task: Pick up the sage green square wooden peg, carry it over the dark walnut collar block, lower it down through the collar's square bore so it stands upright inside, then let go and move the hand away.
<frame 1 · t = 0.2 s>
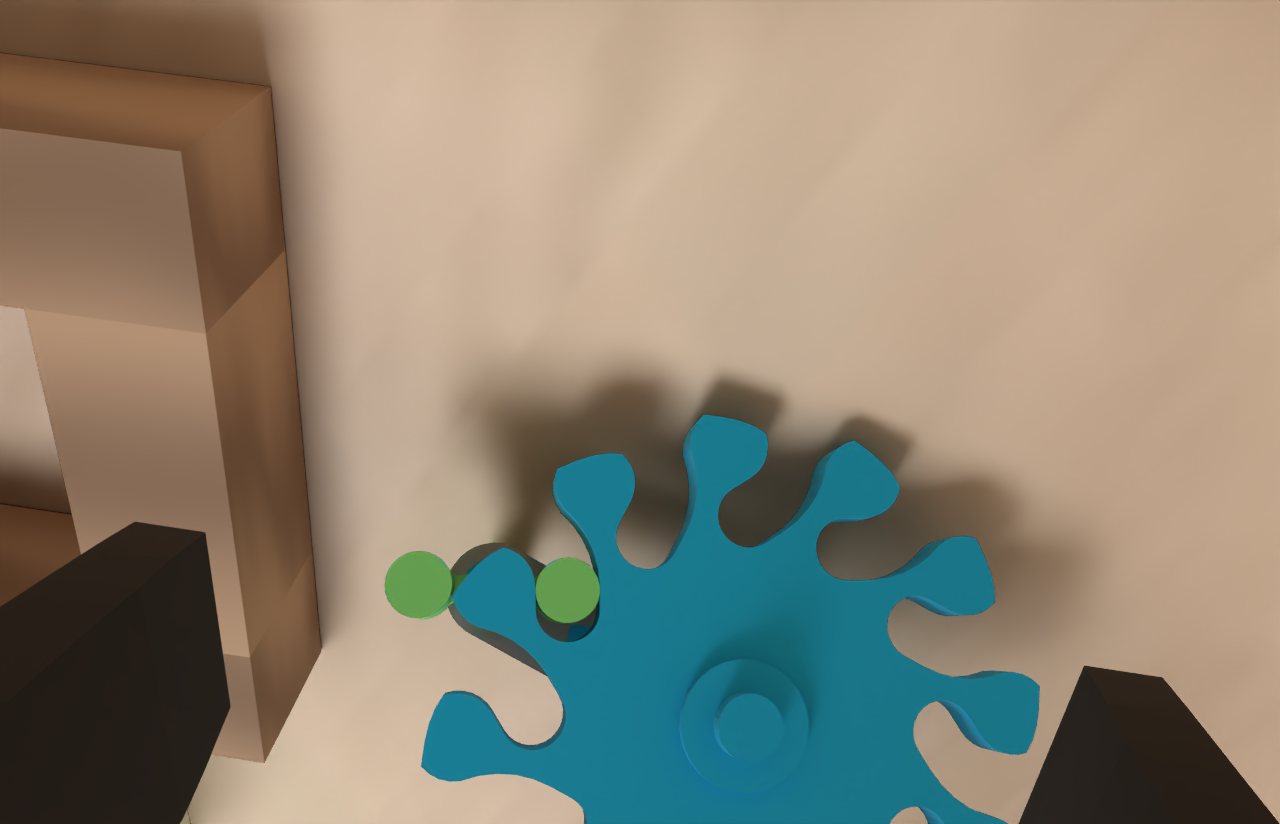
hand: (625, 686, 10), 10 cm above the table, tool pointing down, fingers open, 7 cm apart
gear: (720, 555, 22), on the table
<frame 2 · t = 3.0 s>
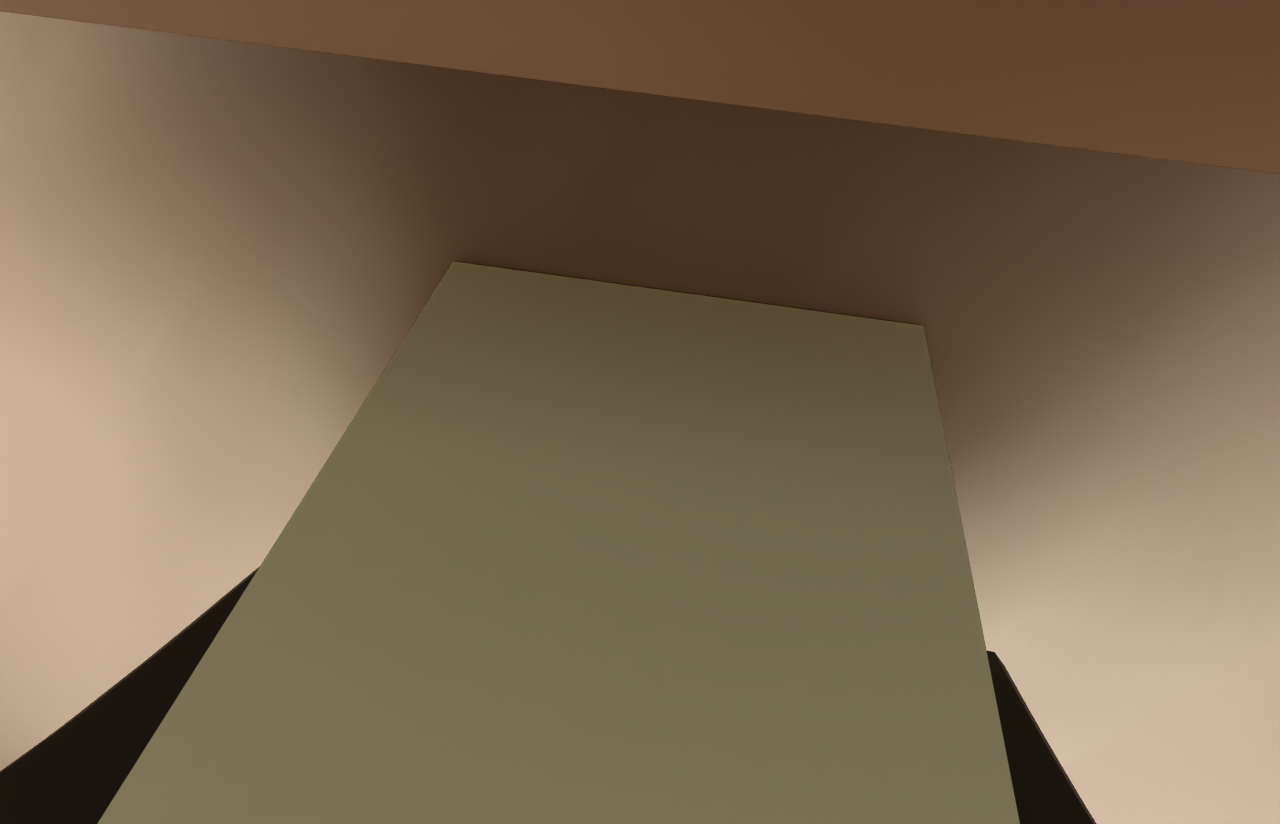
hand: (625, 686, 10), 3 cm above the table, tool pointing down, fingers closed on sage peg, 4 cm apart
sage peg: (661, 484, 12), on the table, touching gripper
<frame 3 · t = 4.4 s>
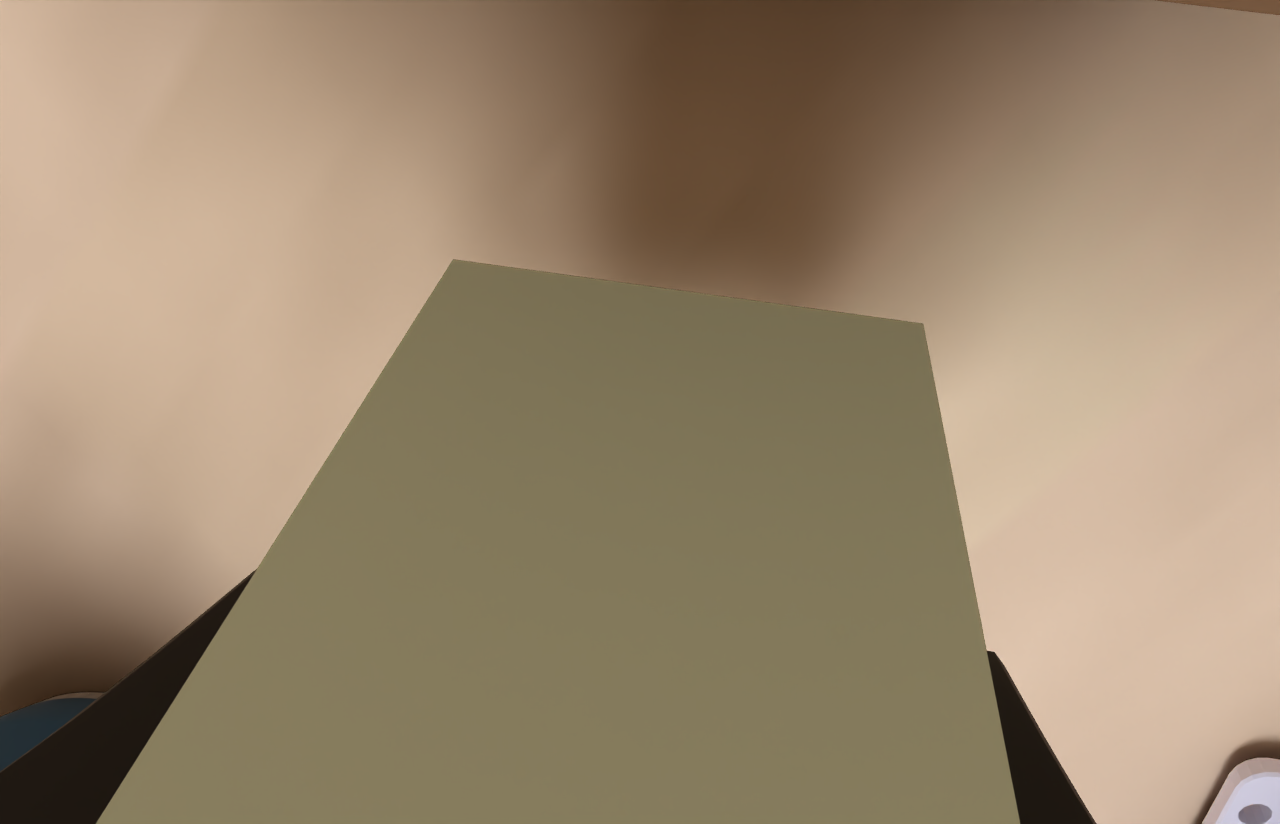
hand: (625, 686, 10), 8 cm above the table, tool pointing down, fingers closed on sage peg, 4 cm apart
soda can: (144, 781, 24), on the table
sage peg: (661, 482, 12), point 5 cm above the table, touching gripper
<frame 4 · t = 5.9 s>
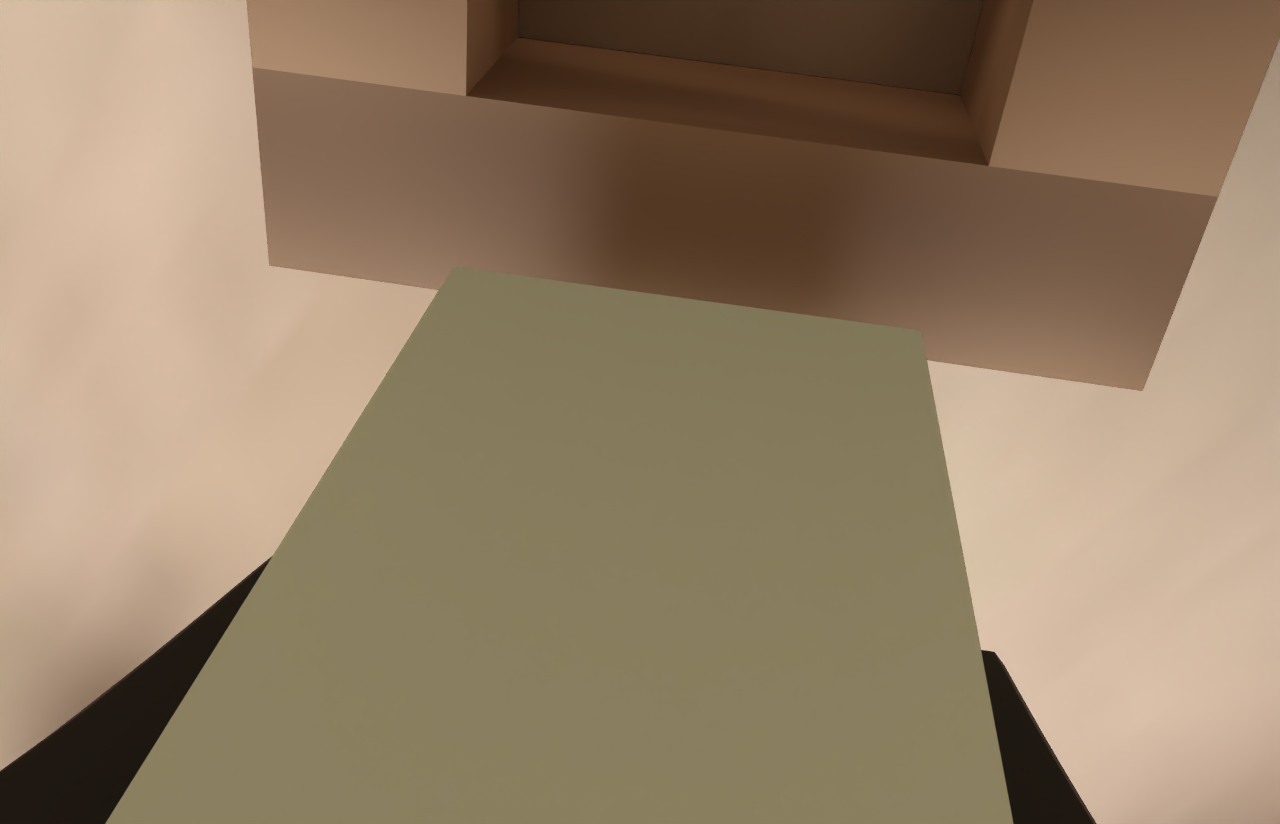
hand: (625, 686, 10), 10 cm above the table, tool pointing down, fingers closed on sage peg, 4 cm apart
sage peg: (661, 488, 12), point 7 cm above the table, touching gripper
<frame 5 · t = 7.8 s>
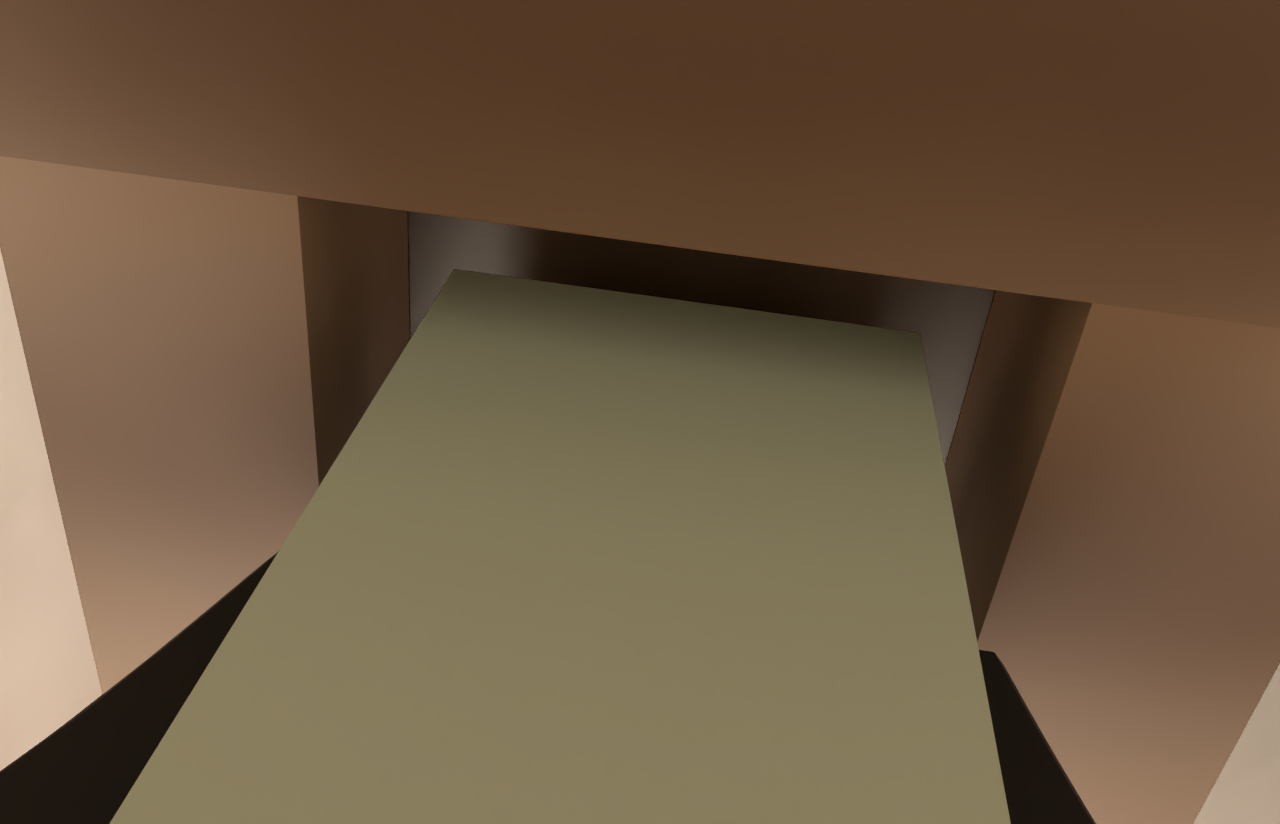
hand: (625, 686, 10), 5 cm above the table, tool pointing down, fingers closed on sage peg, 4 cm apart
walnut collar: (678, 398, 13), on the table
sage peg: (660, 489, 12), point 2 cm above the table, touching gripper
when the fingers open (4 cm above the table, at t = 9.1 s): sage peg drops 1 cm, resting in walnut collar.
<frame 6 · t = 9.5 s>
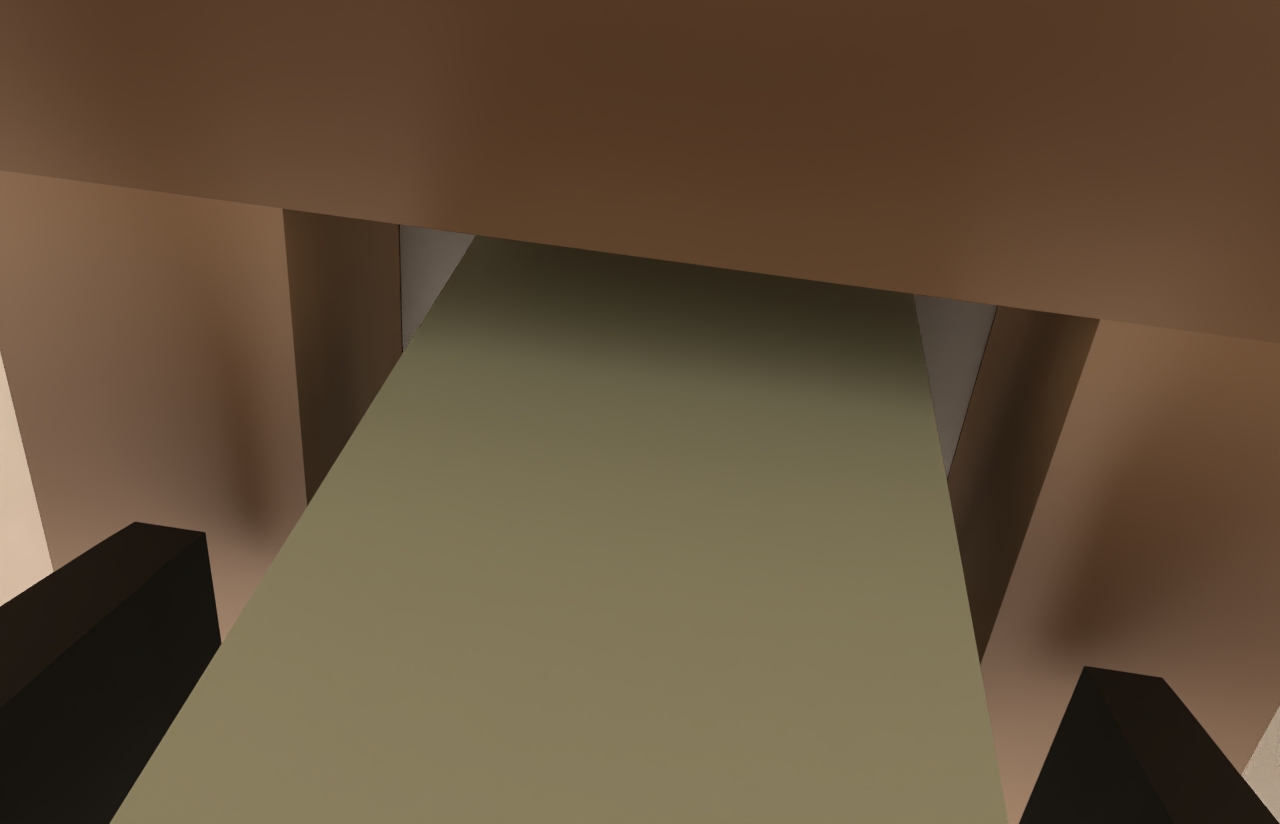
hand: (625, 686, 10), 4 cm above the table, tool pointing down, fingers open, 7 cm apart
walnut collar: (675, 410, 13), on the table
sage peg: (675, 417, 13), resting in walnut collar
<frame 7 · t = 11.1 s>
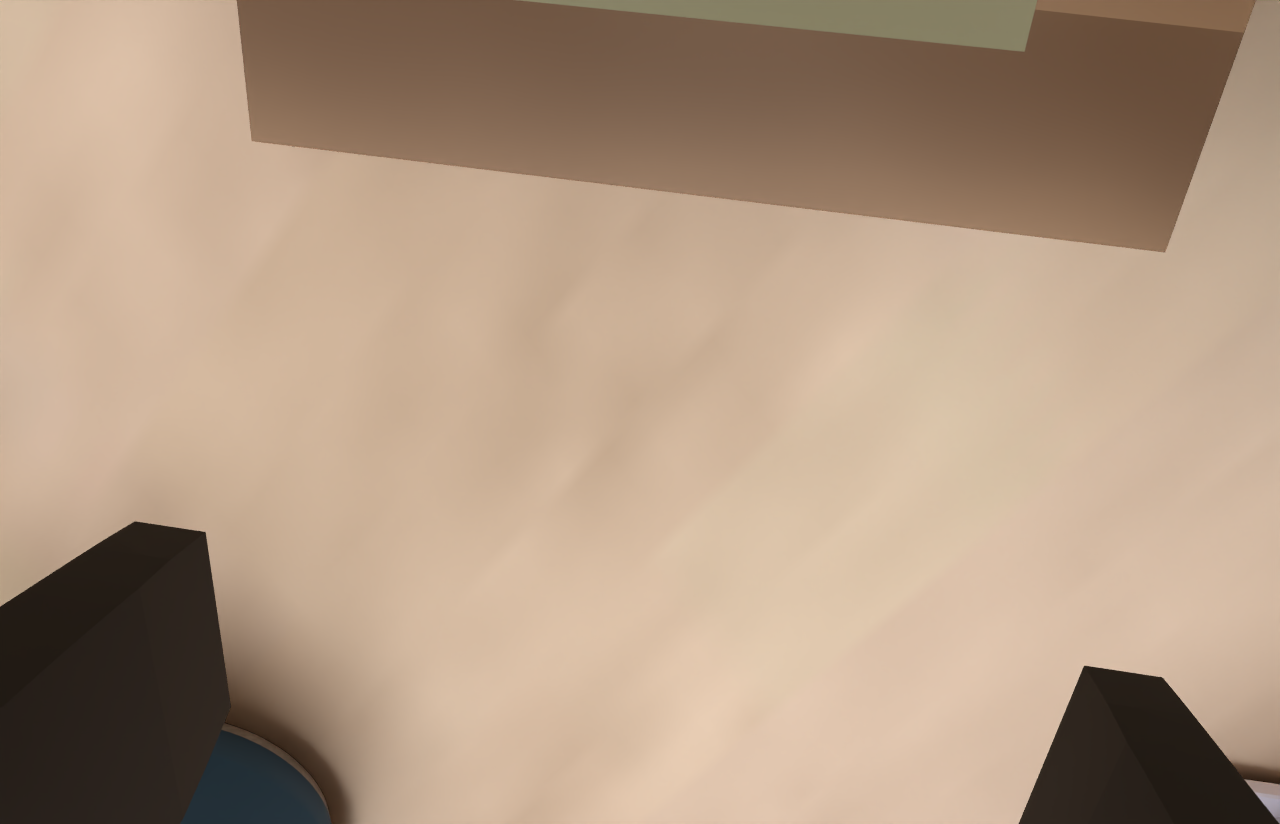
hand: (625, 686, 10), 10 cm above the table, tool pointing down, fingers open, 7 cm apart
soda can: (221, 791, 28), on the table
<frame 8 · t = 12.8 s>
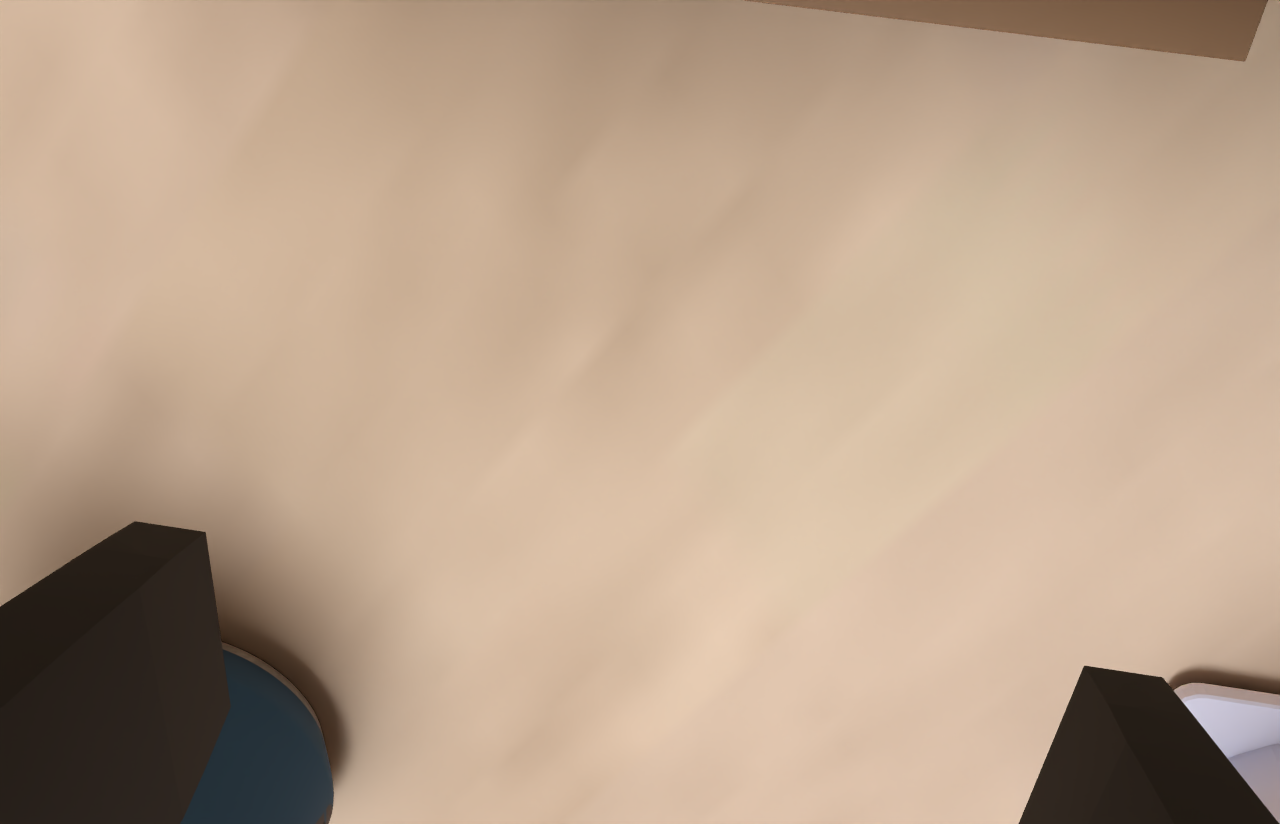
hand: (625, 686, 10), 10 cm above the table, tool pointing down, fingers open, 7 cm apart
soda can: (211, 716, 27), on the table
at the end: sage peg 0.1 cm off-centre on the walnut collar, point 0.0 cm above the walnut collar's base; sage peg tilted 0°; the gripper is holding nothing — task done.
